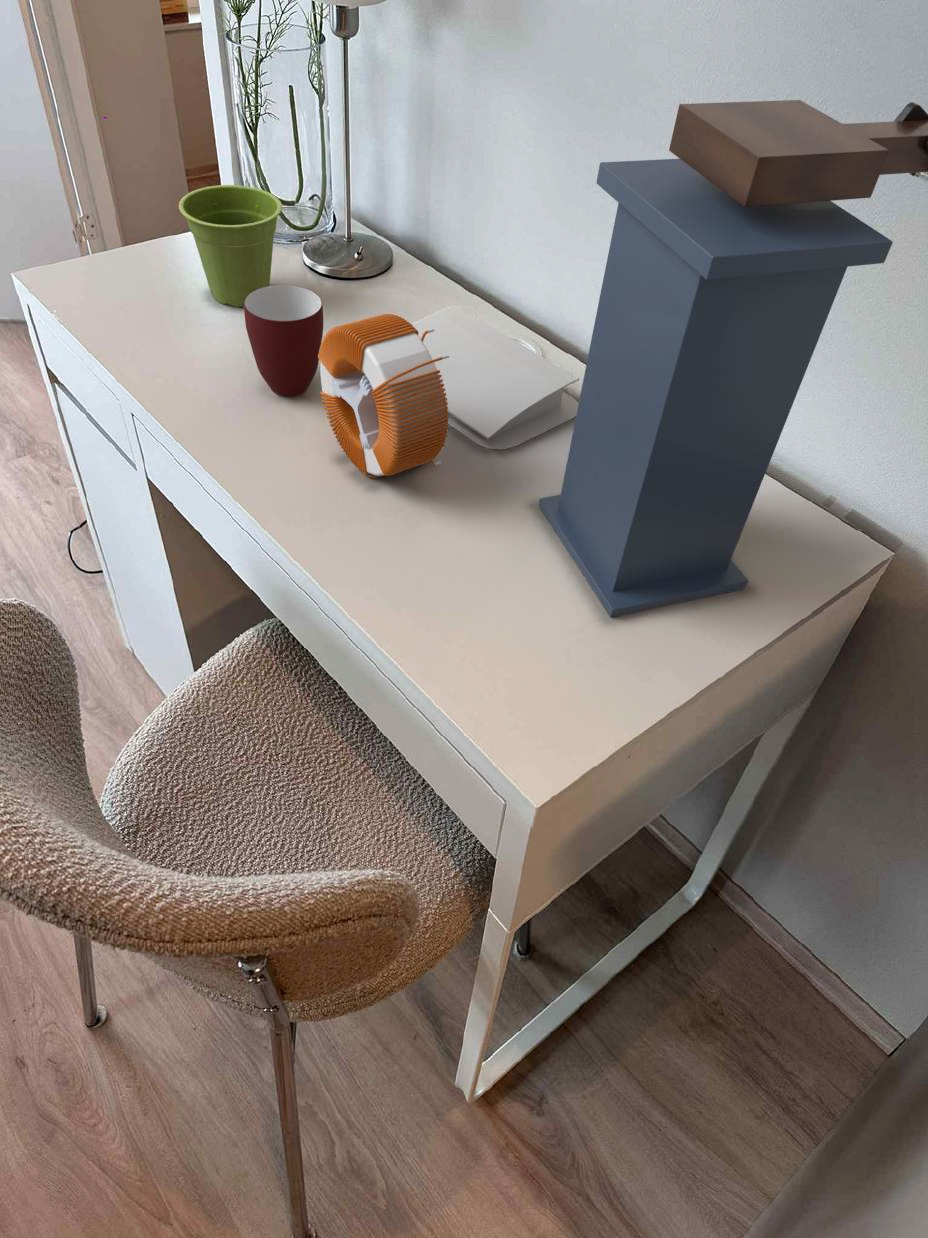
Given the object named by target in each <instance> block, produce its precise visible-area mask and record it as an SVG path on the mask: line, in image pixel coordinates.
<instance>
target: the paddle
mask: <svg viewBox="0 0 928 1238" xmlns="http://www.w3.org/2000/svg"><path fill="white" fill-rule="evenodd" d="M677 108H678V109H677V113H676V117H675V121H674V125H673V130H672V134H671V140H670V143H669V148H668V151H669V152H670V153H672V154H673V155H674V156H676V157H677V159H681V160H682V161H684V162H685V163H686V164H688V165H689V166H690V167H692V168H693V169H694V170H696V171H697V172H698V173H700V174H701V175H702V176H704V177H705V178H706V179H708V180H709V181H710V182H712V183H713V184H714V185H716V186H717V187H718V188H720V189H721V190H722V191H724V192H725V193H726V194H728V195H729V196H730V197H732V198H733V199H734V200H736V201H737V202H738V203H740V204H741V205H742V206H744V207H752V206H765V205H779V204H792V203H806V202H819V201H832V202H834V201H844V200H845V201H846V200H857V199H858V200H859V199H870V198H872V196H873V193H874V191H875V188H876V185H877V183H878V181H879V178H880V176H885V175H900V174H901V175H903V174H909V173H917V172H928V154H927V153H926V152H925V151H924V149H923V146H924V143H925V141H926V140H927V139H928V120H919V121H896V122H894V121H877V122H873V121H872V122H852V123H841V122H840V121H838V120H836V119H835V118H833V117H831V116H829V115H828V114H826V113H824V112H822V111H821V110H818V109H817V108H815V107H814V106H812V105H810V104H808V103H806V102H805V101H803V100H801V99H789V100H786V99H785V100H761V101H760V100H759V101H729V102H727V101H726V102H701V103H699V102H698V103H697V102H696V103H679V104H678V107H677Z"/></svg>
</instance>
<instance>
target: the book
mask: <svg viewBox="0 0 928 1238" xmlns="http://www.w3.org/2000/svg"><path fill="white" fill-rule="evenodd" d="M410 324H411V325H413V327H415V328H416V330H418V336H419V337H420V339H421V338H422V335H423V333H424V332H425V331H427V330H430V329H434V332H430V333H427V334H426V335H425V338H424V340H423V343H424V345H425V346H426V348H427V350H428V351H429V353H430V356H431V358H432V360H433V359H436V358H439V357H443V356H446V355H449V358H446V359H442V360H439V361H436V362H434V364H435V366H436V369H437V370H440V373H438V375H442V377H440V379H443V382H441V384H444V387H442V388H445V389H446V390H445V391H444V392H443V393H446V396H445V397H446V398H447V400H446V402H448V405H447V406H448V412H449V413H448V416H449V418H448V420H449V422H448V426H450V427H452V428H454V429H455V430H456V431H458V432H459V433H461V434H462V435H464V436H465V437H466V438H468V439H469V440H471V441H473V442H474V443H475V444H476V445H478V446H481V447H484V448H485V449H488V450H500V451H501V450H502V451H504V450H508V449H512V448H514V447H517V446H520V445H521V444H524V443H525V442H527V441H529V440H532V439H533V438H535V437H538V436H539V435H543V434H544V433H546V432H548V431H550V430H552V429H554V428H556V427H558V426H560V425H562V424H564V423H566V422H568V421H570V420H572V419H574V418H576V414H577V409H578V404H579V401H577V400H576V398H574V397H573V396H571V395H569V394H567V392H564V389H565V388H566V387H568V386H570V385H572V384H574V383H577V382H579V381H580V378H579V377H577V376H575V375H574V374H573V373H571V372H569V371H567V370H566V369H564V368H562V367H560V366H559V365H557V364H555V363H554V362H552V361H550V360H549V359H547V358H545V357H544V356H542V355H540V354H538V353H537V352H535V351H533V350H531V349H530V348H528V347H527V346H526V345H523V344H522V343H520V342H518V341H517V340H515V339H513V338H511V337H509V336H508V335H506V334H505V333H503V332H502V331H500V330H498V329H496V328H494V327H492V326H491V325H489V324H488V323H486V322H484V321H482V320H481V319H479V318H477V317H475V316H474V315H473V314H471V313H469V312H467V311H465V310H464V309H462V308H461V307H459V306H457V305H455V304H452V305H449V306H447V307H444V308H441V309H439V310H437V311H434V312H432V313H430V314H428V315H426V316H424V317H421V318H419V319H418V320H416V321H414V322H412V323H410Z"/></svg>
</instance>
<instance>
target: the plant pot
mask: <svg viewBox="0 0 928 1238" xmlns="http://www.w3.org/2000/svg"><path fill="white" fill-rule="evenodd" d="M178 209H179V212H180V213H181V215H182V216H183V217H185V219H186V221H187V226H188V229H189V231H190V232H191V234H192V236H193V238H194V242H195V246H196V248H197V252H198V255H199V258H200V261H201V265H202V268H203V271H204V275H205V279H206V281H207V285H208V288H209V292H210V294H211V297H212V298H213V299H214V300H215V301H216V302H218V303H219V304H222V305H224V304H228V305H231V306H233V307H238V308H242V307H243V308H244V300H245V298H246V297H247V296H248V295H249V294H250V293H251V292H253V291H255V290H257V289H260V288H263V287H267V286H271V277H272V276H271V275H272V264H273V263H272V262H273V261H272V260H273V251H274V239H275V233H276V230H277V222H278V217H279V215H280V214H281V212H282V209H283V205H282V202H281V200H280V199H279V198H278V197H277V196H275V195H274V194H273V193H271V192H269V191H267V190H264V189H261V188H257V187H254V186H248V185H237V184H219V185H211V186H205V187H201V188H198V189H194V190H193V191H190V192H188V193H187V194H185V195H184V196H182V198H181V199H180V200H179V202H178Z"/></svg>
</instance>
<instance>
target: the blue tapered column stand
mask: <svg viewBox="0 0 928 1238" xmlns="http://www.w3.org/2000/svg"><path fill="white" fill-rule="evenodd" d="M595 183H596V184H597V186H599V187H600V188H601V189H602V190H603V191H604V192H606V193H607V194H608V195H609V196H610V197H611V198H612V199H614V201H616V202H617V208H616V213H615V219H614V223H613V227H612V234H611V238H610V243H609V248H608V254H607V257H606V264H605V269H604V273H603V279H602V284H601V290H600V293H599V298H598V304H597V309H596V313H595V318H594V324H593V329H592V334H591V339H590V344H589V350H588V355H587V359H586V364H585V369H584V375H583V379H582V384H581V390H580V395H579V399H578V403H579V404H578V409H577V414H576V416H575V420H574V425H573V430H572V435H571V439H570V445H569V450H568V456H567V461H566V465H565V471H564V476H563V481H562V486H561V491H560V494H556V495H550V496H544V497H540V498H539V502H538V507H539V508H540V510H541V512H542V513H543V515H544V516H545V517H546V519H547V521H548V522H549V524H550V526H551V527H552V529H553V530H554V532H555V534H556V535H557V537H558V538H559V539H560V542H561V543H562V545H563V546H564V548H565V549H566V551H567V552H568V555H570V557H571V559H572V560H573V562H574V564H575V565H576V566H577V568H578V569H579V571H580V573H581V574H582V576H583V577H584V579H585V581H586V583H588V585H589V587H590V588H591V590H592V591H593V594H595V596H596V597H597V599H598V600H599V602H600V604H601V605H602V607H603V608H604V610H605V611H606V613H607V614H608V617H609V618H615V617H619V616H623V615H628V614H634V613H637V612H642V611H643V612H644V611H647V610H648V611H649V610H650V609H651V610H653V609H656V608H661V607H665V606H670V605H675V604H679V603H685V602H688V601H694V600H699V599H703V598H707V597H711V596H717V595H721V594H726V593H730V592H735V591H739V590H745V589H746V588H747V585H748V583H749V580H748V579H747V577H746V576H745V575H744V573H743V572H742V571H741V569H739V567H738V566H737V565H736V564H735V563H734V561H733V560H732V558H733V556H734V553H735V550H736V548H737V545H738V544H739V541H740V538H741V535H742V533H743V530H744V528H745V525H746V523H747V520H748V518H749V515H750V513H751V511H752V508H753V505H754V503H755V500H756V498H757V496H758V493H759V490H760V487H761V486H762V483H763V481H764V478H765V475H766V473H767V470H768V468H769V465H770V463H771V460H772V457H773V455H774V452H775V450H776V447H777V445H778V443H779V441H780V437H781V435H782V432H783V430H784V427H785V425H786V422H787V421H788V417H789V415H790V412H791V410H792V408H793V405H794V402H795V400H796V397H797V395H798V392H799V391H800V387H801V385H802V382H803V380H804V378H805V374H806V372H807V370H808V367H809V365H810V362H811V360H812V357H813V355H814V352H815V349H816V347H817V345H818V342H819V340H820V337H821V334H822V332H823V329H824V327H825V325H826V322H827V320H828V316H829V314H830V312H831V309H832V307H833V304H834V301H835V299H836V296H837V294H838V292H839V289H840V287H841V284H842V282H843V279H844V277H845V274H846V272H847V269H848V267H858V266H866V265H867V266H868V265H878V264H879V265H880V264H885V262H886V260H887V257H888V254H889V252H890V250H891V249H892V248H891V247H892V246H893V243H894V241H893V240H891V239H890V238H888V237H886V236H885V235H884V234H882V233H881V232H880V231H878V230H876V229H874V227H872V226H870V225H868V224H867V223H865V222H864V221H862V220H860V219H859V217H856V216H855V215H853V214H852V213H851V212H848V211H847V210H845V208H842V207H841V206H839V205H838V204H836V203H835V202H834V201H819V202H806V203H792V204H779V205H765V206H752V207H744V206H742V205H741V204H740V203H738V202H737V201H736V200H734V199H733V198H732V197H730V196H729V195H728V194H726V193H725V192H724V191H722V190H721V189H720V188H718V187H717V186H716V185H714V184H713V183H712V182H710V181H709V180H708V179H706V178H705V177H704V176H702V175H701V174H700V173H698V172H697V171H696V170H694V169H693V168H692V167H690V166H689V165H688V164H686V163H685V162H684V161H682V160H681V159H680V158H666V159H665V158H663V159H644V160H624V161H623V160H622V161H621V160H620V161H601V162H599V166H598V172H597V177H596V182H595Z"/></svg>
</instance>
